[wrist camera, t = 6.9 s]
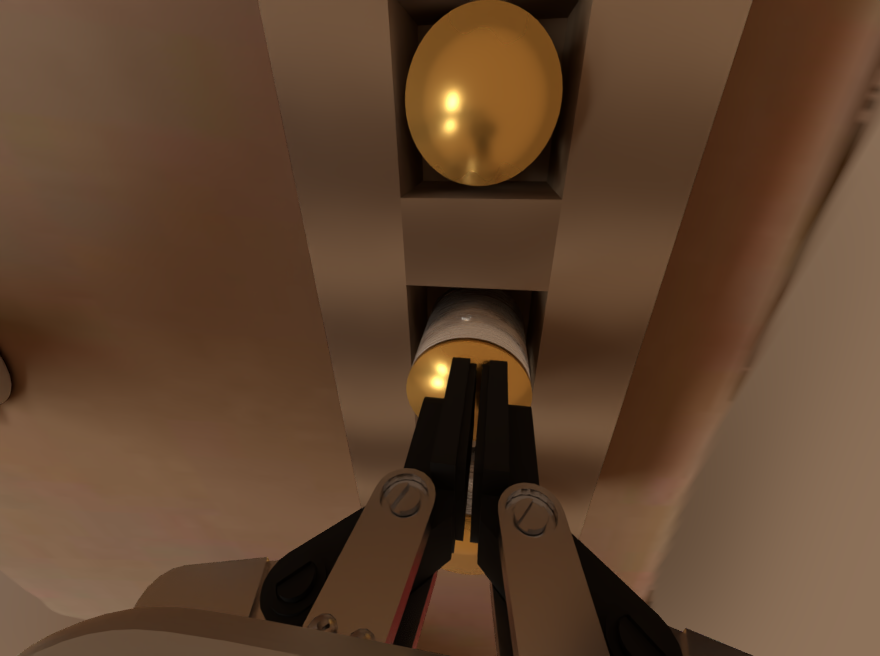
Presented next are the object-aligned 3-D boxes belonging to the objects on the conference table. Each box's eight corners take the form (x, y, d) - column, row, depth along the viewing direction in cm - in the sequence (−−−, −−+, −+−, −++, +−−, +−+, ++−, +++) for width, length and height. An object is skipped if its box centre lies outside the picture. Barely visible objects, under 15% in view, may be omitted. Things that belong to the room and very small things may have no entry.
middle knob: (518, 366, 16) (525, 446, 12) (430, 360, 16) (409, 434, 12) (528, 284, 14) (540, 347, 10) (428, 280, 14) (402, 338, 10)
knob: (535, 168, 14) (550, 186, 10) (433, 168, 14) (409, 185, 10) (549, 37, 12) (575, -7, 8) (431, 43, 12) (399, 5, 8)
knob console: (558, 484, 24) (571, 562, 20) (388, 465, 26) (366, 534, 21) (706, -138, 10) (858, -327, 6) (316, -98, 12) (211, -225, 7)
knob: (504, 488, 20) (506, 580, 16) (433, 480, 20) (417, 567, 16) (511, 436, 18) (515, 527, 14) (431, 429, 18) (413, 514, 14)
